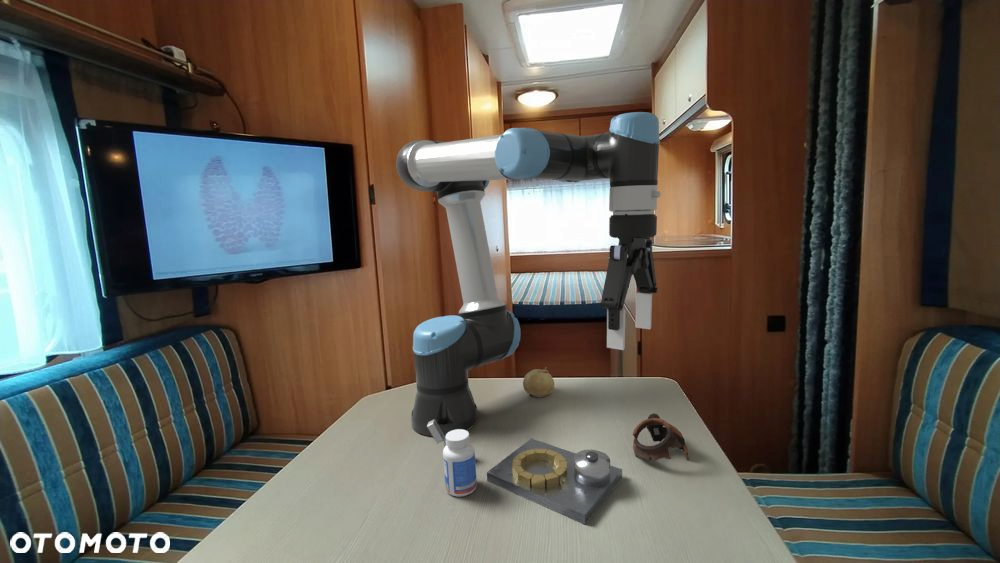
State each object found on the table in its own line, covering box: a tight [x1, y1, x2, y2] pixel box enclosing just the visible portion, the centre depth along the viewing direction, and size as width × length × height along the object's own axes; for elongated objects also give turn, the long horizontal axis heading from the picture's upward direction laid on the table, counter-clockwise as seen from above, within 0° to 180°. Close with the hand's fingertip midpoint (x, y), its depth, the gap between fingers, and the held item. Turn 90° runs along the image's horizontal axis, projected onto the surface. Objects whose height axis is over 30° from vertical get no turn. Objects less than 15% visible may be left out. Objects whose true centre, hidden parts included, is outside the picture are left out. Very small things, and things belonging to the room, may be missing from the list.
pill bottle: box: [442, 429, 478, 497], centre depth 74 cm, size 6×5×10 cm
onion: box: [522, 366, 555, 398], centre depth 111 cm, size 8×8×7 cm
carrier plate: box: [486, 437, 623, 525], centre depth 75 cm, size 19×14×5 cm
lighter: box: [427, 419, 446, 449], centre depth 83 cm, size 7×2×8 cm, turn 88°
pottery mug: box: [632, 412, 690, 462], centre depth 82 cm, size 12×10×8 cm
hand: (630, 337), depth 75 cm, fingers open, 13 cm apart
